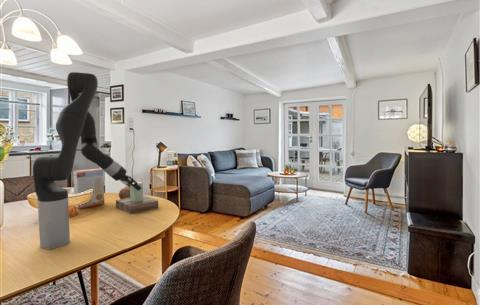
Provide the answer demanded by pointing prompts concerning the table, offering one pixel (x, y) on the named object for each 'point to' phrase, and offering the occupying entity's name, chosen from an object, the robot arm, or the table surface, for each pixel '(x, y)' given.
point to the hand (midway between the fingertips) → (136, 188)
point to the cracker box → (90, 185)
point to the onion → (124, 193)
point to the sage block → (136, 193)
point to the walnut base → (136, 204)
